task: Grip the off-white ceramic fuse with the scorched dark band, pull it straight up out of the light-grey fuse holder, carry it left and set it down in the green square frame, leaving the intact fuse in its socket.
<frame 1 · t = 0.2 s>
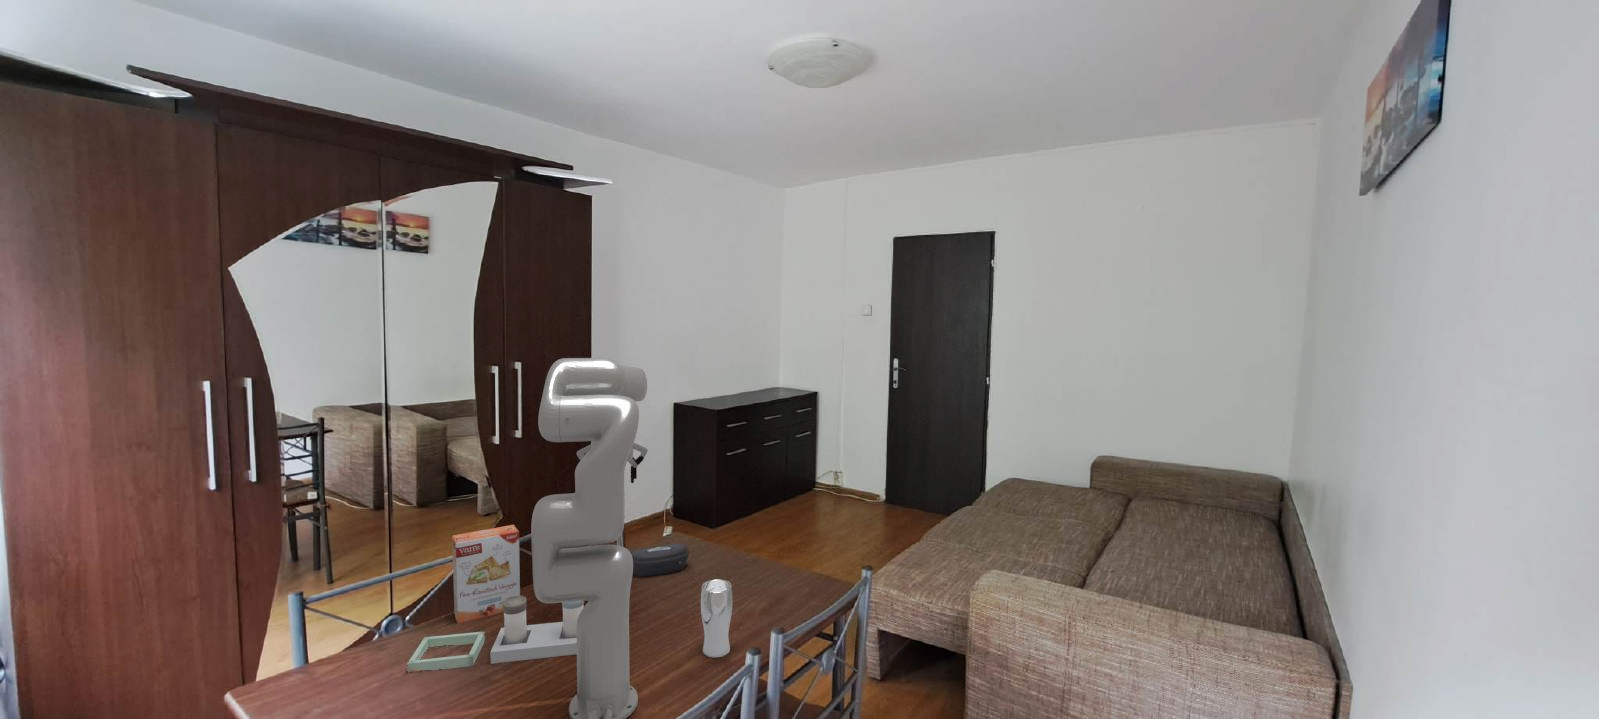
hand: (612, 482, 159), 31 cm above the table, fingers open, 9 cm apart
beer glass: (716, 651, 139), on the table
intact fuse: (573, 642, 140), point 1 cm above the table, touching fuse holder
glasses case: (658, 570, 180), on the table
blown fuse: (516, 648, 137), point 1 cm above the table, touching fuse holder
green square frame: (448, 659, 134), on the table
cracker box: (488, 615, 153), on the table
fuse holder: (545, 649, 138), on the table
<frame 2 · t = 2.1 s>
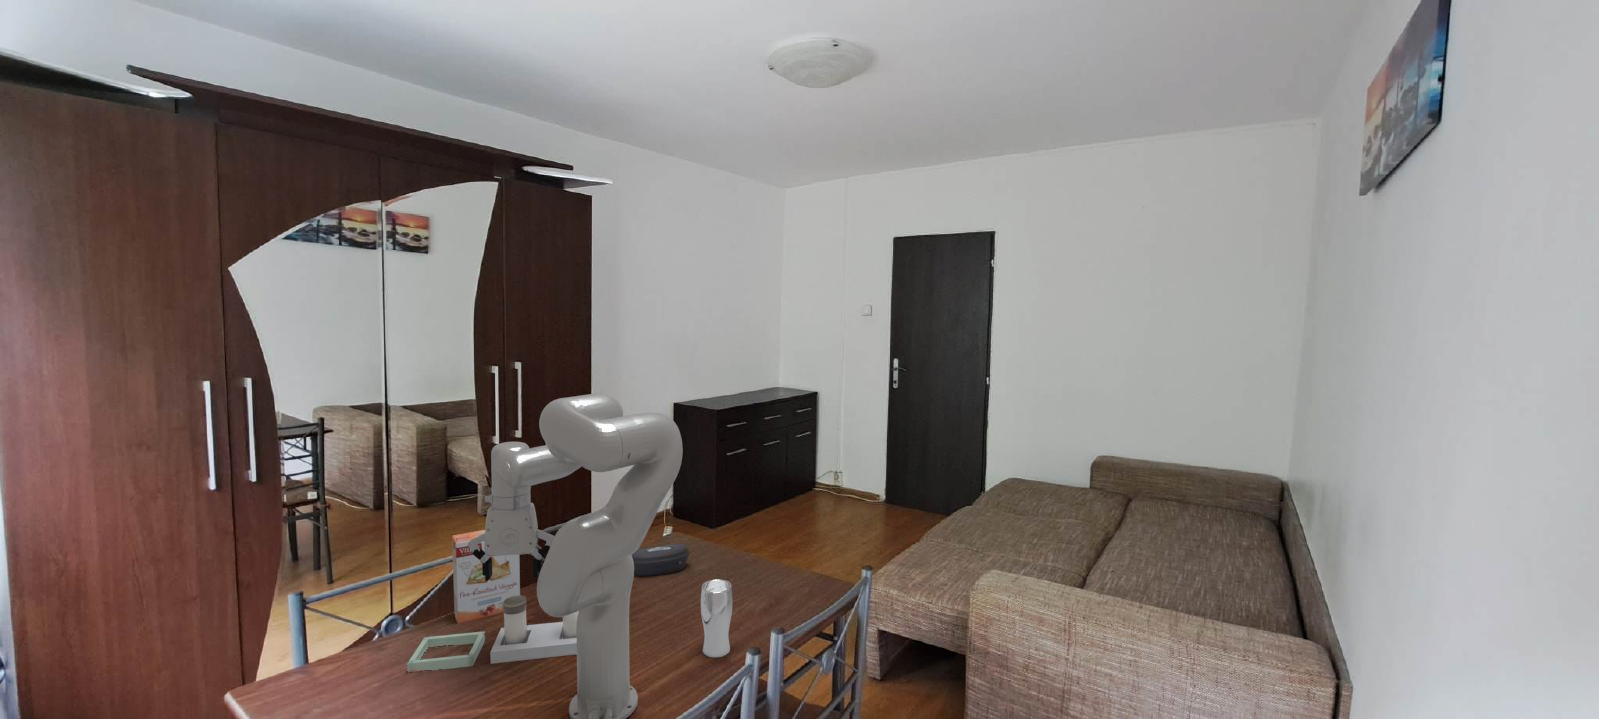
hand: (512, 576, 136), 17 cm above the table, fingers open, 9 cm apart
nothing on the table moved.
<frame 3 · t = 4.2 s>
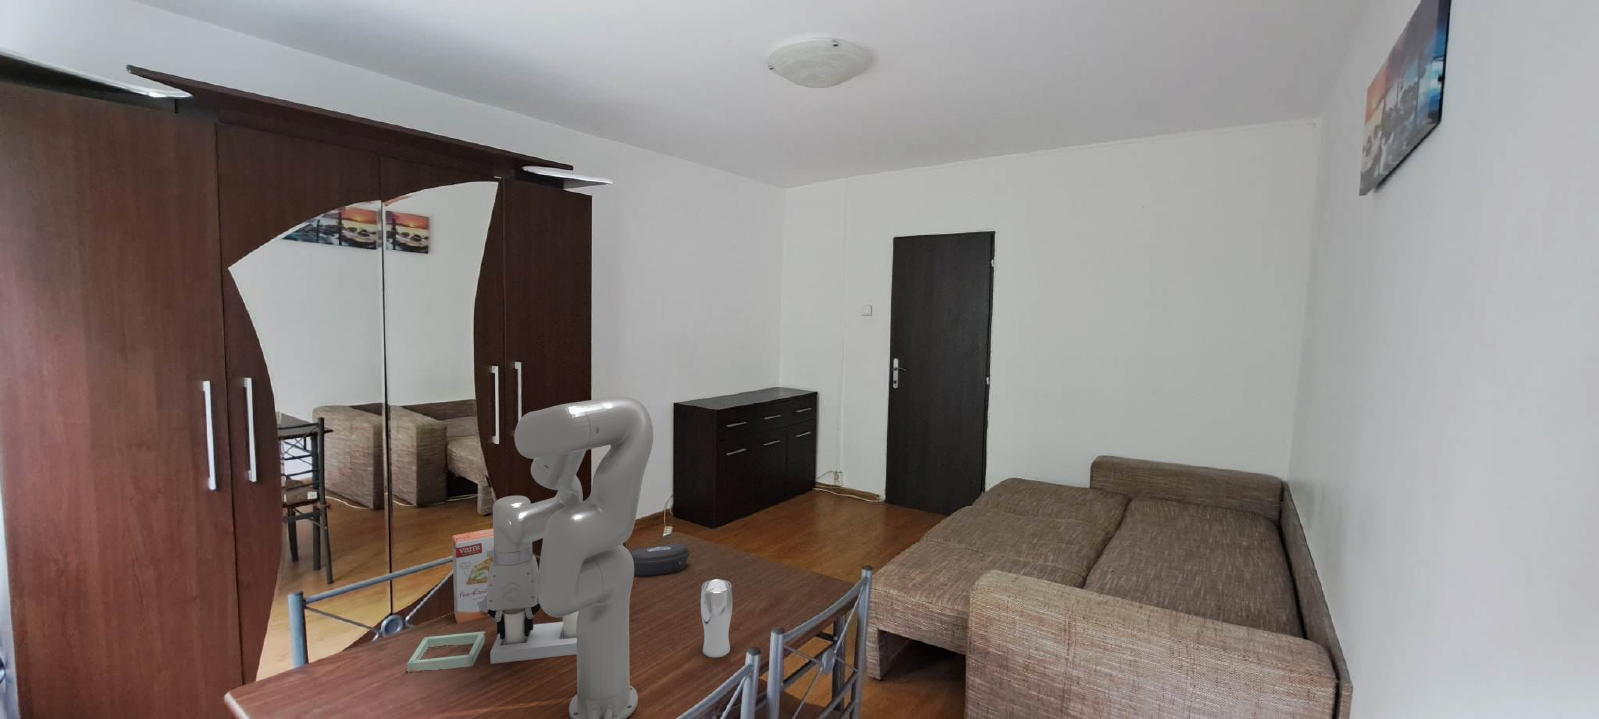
hand: (515, 633, 137), 4 cm above the table, fingers closed on blown fuse, 4 cm apart
blown fuse: (516, 648, 137), point 1 cm above the table, touching fuse holder, gripper
everything else where it was.
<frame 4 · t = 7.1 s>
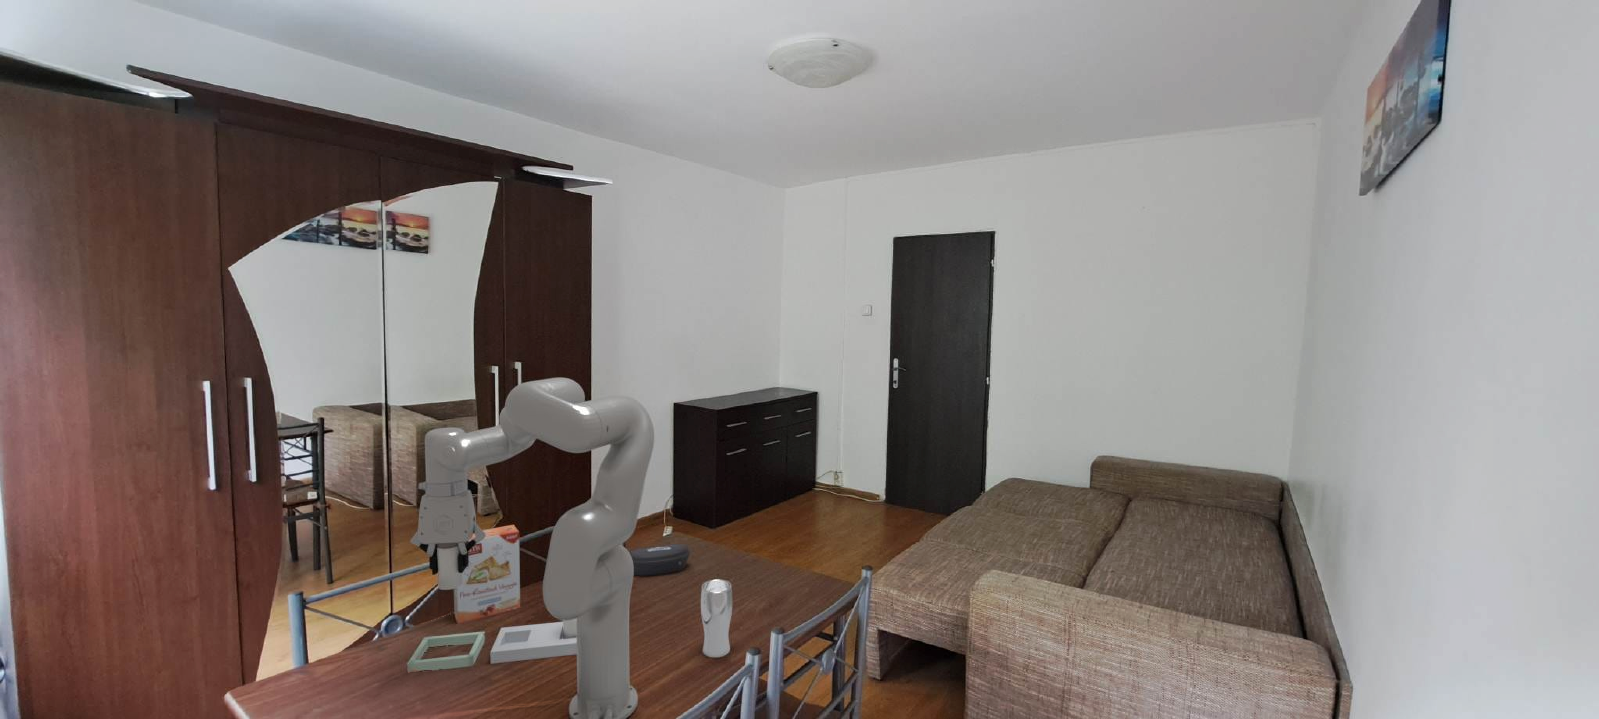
hand: (449, 570, 132), 20 cm above the table, fingers closed on blown fuse, 4 cm apart
blown fuse: (450, 585, 133), point 17 cm above the table, touching gripper
everything else where it was.
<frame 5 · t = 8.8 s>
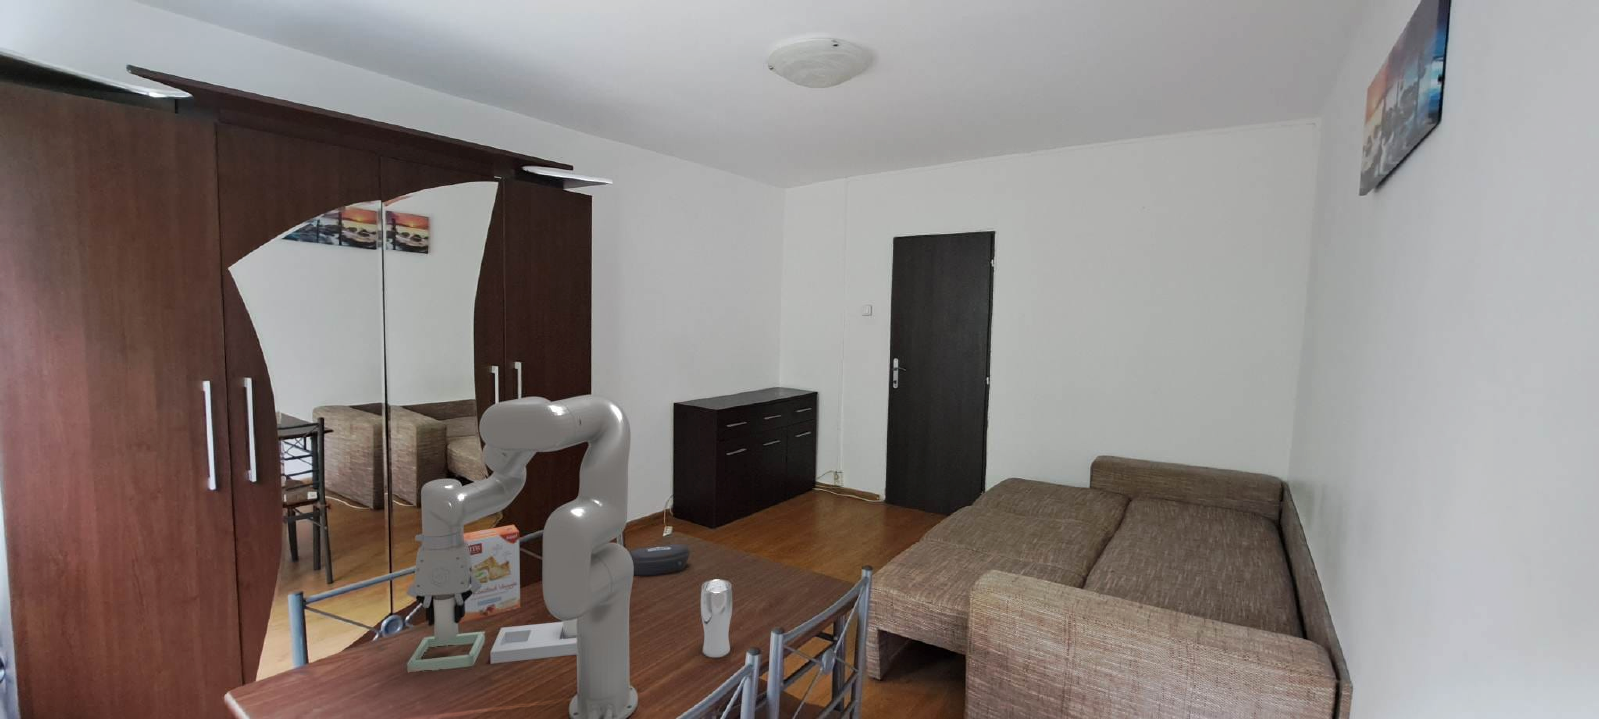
hand: (445, 620, 133), 9 cm above the table, fingers closed on blown fuse, 4 cm apart
blown fuse: (446, 635, 133), point 6 cm above the table, touching gripper
everything else where it was.
when the fingers open (5 cm above the table, at t = 10.2 s): blown fuse stays where it is, resting on green square frame.
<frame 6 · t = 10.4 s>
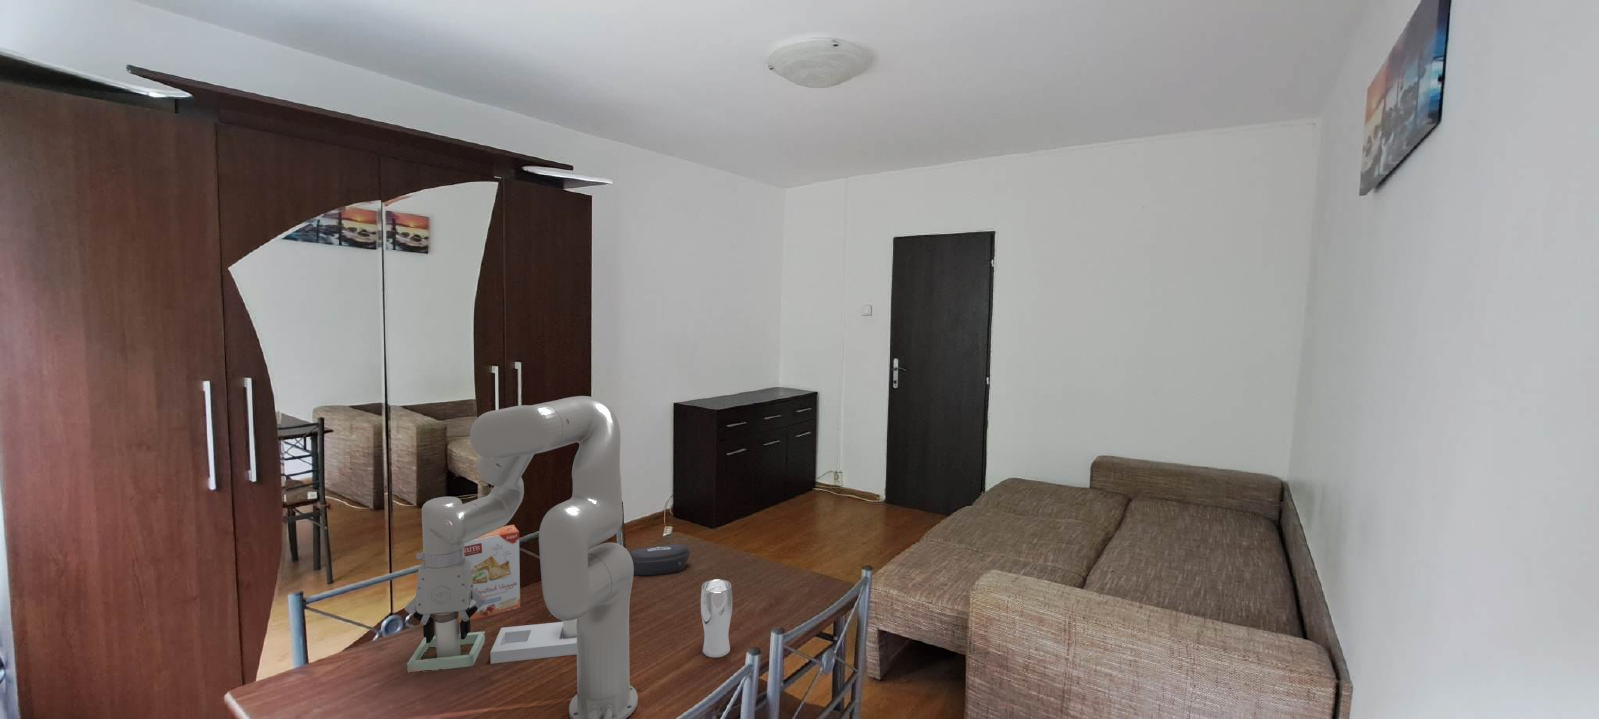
hand: (447, 637, 133), 5 cm above the table, fingers open, 6 cm apart
blown fuse: (449, 656, 134), point 1 cm above the table, touching green square frame
everything else where it was.
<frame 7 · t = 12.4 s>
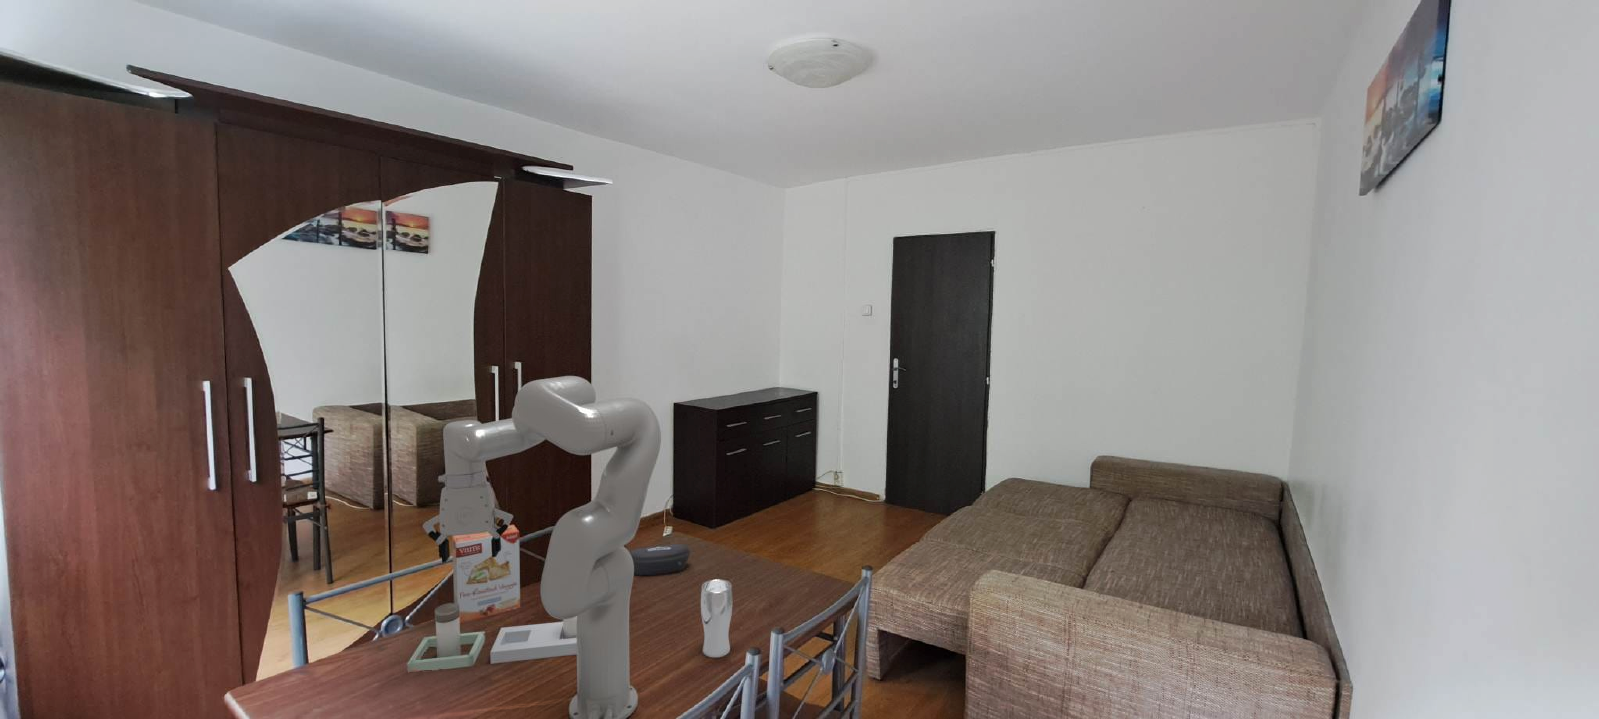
hand: (470, 557, 134), 22 cm above the table, fingers open, 9 cm apart
nothing on the table moved.
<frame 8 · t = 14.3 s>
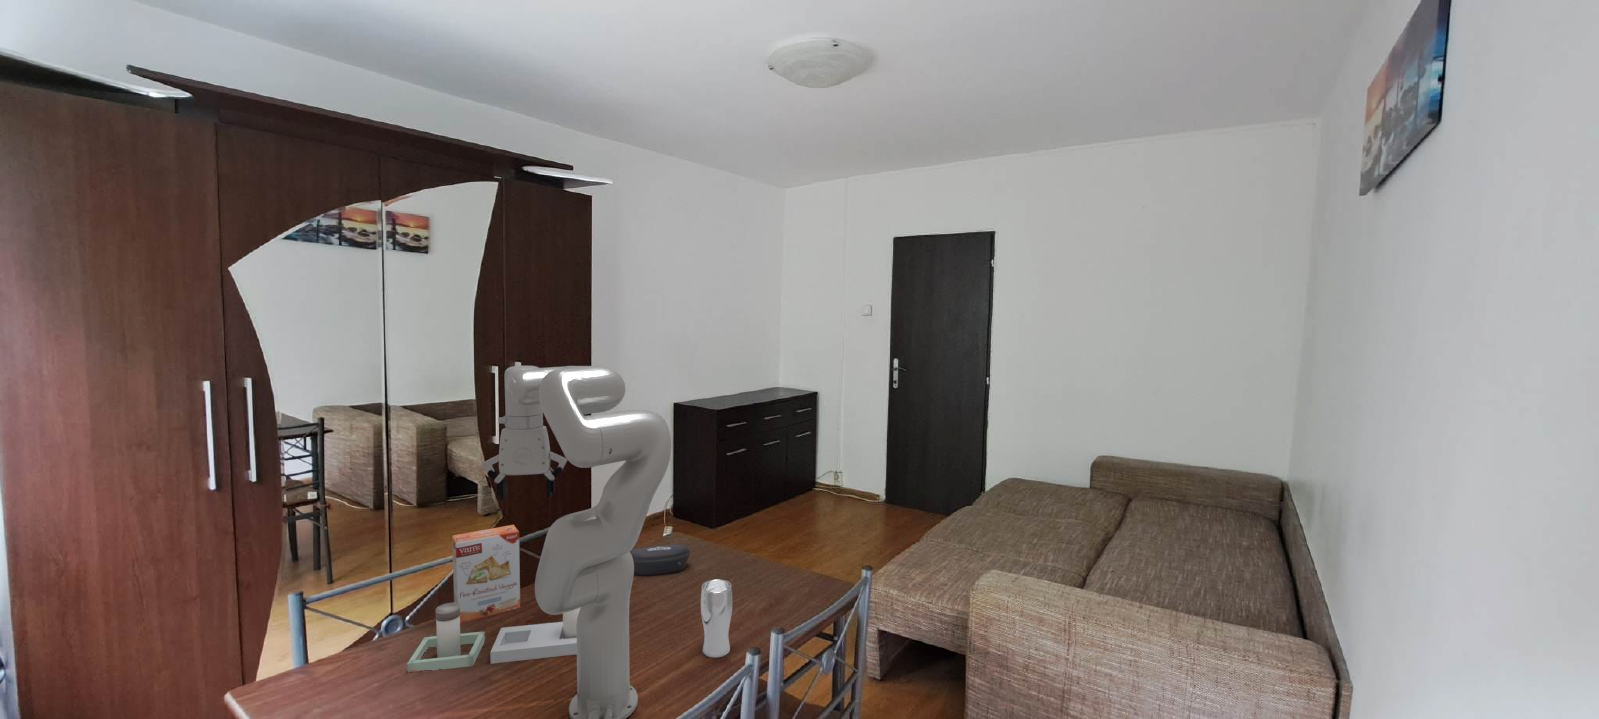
hand: (526, 497, 139), 33 cm above the table, fingers open, 9 cm apart
nothing on the table moved.
at the end: blown fuse inside the target area on the green square frame (0.1 cm from its centre), point 0.7 cm above the green square frame's base; the gripper is holding nothing; intact fuse moved 0.0 cm from its start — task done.
